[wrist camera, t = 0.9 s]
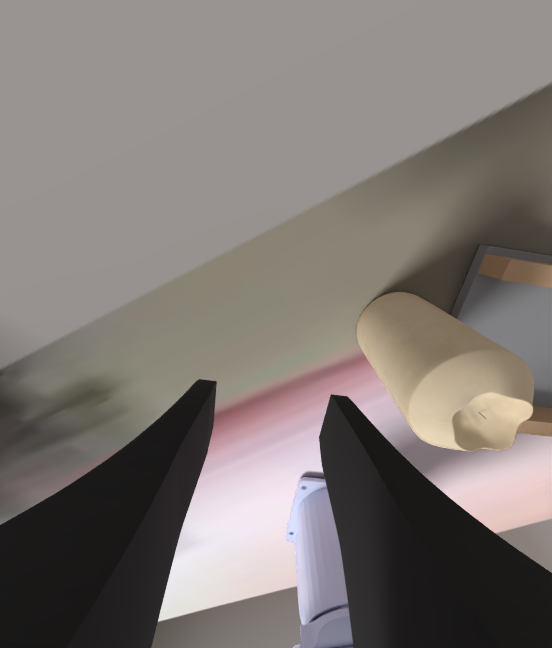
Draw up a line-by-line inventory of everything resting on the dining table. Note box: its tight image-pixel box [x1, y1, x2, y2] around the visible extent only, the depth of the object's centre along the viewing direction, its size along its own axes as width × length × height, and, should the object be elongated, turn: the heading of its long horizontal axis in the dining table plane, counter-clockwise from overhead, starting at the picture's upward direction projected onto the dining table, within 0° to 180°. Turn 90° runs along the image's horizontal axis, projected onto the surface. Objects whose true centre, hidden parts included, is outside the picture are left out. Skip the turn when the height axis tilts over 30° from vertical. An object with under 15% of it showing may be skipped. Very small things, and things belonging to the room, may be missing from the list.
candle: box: [356, 292, 534, 452], centre depth 15 cm, size 6×6×10 cm
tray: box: [450, 244, 552, 436], centre depth 19 cm, size 13×12×3 cm
